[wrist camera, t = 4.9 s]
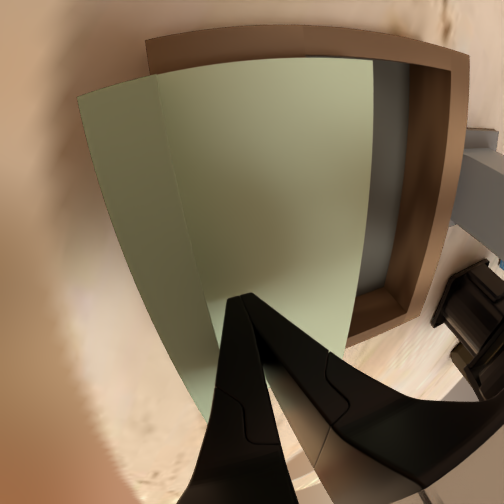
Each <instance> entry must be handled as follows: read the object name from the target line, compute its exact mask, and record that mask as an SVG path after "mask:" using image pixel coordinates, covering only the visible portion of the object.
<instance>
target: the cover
mask: <svg viewBox="0 0 504 504" xmlns="http://www.w3.org/2000/svg"><path fill="white" fill-rule="evenodd" d="M77 101H78V105H79V110H80V114H81V119H82V123H83V127H84V131H85V135H86V139H87V143H88V147H89V151H90V154H91V158H92V162H93V165H94V169H95V172H96V175H97V179H98V182H99V185H100V188H101V192H102V195H103V198H104V201H105V204H106V207H107V210H108V213H109V216H110V219H111V222H112V224H113V227H114V230H115V233H116V235H117V238H118V241H119V244H120V246H121V249H122V251H123V254H124V257H125V259H126V262H127V264H128V267H129V269H130V272H131V274H132V276H133V279H134V281H135V284H136V286H137V288H138V291H139V293H140V295H141V298H142V300H143V302H144V304H145V307H146V309H147V311H148V313H149V315H150V317H151V320H152V322H153V324H154V326H155V328H156V330H157V332H158V334H159V336H160V338H161V340H162V343H163V345H164V347H165V349H166V351H167V352H168V354H169V356H170V358H171V360H172V362H173V364H174V366H175V368H176V370H177V372H178V374H179V375H180V377H181V379H182V381H183V383H184V385H185V386H186V388H187V390H188V392H189V394H190V395H191V397H192V399H193V401H194V402H195V404H196V406H197V407H198V409H199V411H200V412H201V414H202V416H203V417H204V419H205V421H206V422H207V424H208V420H209V416H210V411H211V406H212V400H213V393H214V388H215V379H216V372H217V364H218V357H219V350H220V343H221V336H222V328H223V321H224V315H225V308H226V301H227V299H228V298H230V297H234V296H240V295H242V294H245V293H249V292H252V293H254V294H255V295H256V296H258V297H259V298H260V299H262V300H263V301H264V302H266V303H267V304H268V305H269V306H271V307H272V308H273V309H275V310H276V311H277V312H279V313H280V314H281V315H283V316H284V317H285V318H287V319H288V320H289V321H291V322H292V323H293V324H295V325H296V326H297V327H299V328H300V329H301V330H303V331H304V332H305V333H307V334H308V335H309V336H311V337H312V338H313V339H315V340H316V341H317V342H319V343H320V344H321V345H323V346H324V347H325V348H327V349H328V350H329V352H330V351H331V352H332V353H334V354H335V355H336V356H338V357H339V358H341V359H343V355H344V351H345V346H346V342H347V337H348V332H349V327H350V323H351V318H352V312H353V307H354V302H355V296H356V291H357V285H358V279H359V272H360V266H361V259H362V252H363V245H364V237H365V229H366V220H367V211H368V201H369V190H370V177H371V162H372V143H373V61H372V60H360V59H344V58H278V59H261V60H248V61H238V62H229V63H221V64H214V65H207V66H200V67H194V68H188V69H183V70H177V71H172V72H167V73H163V74H158V75H156V74H154V75H150V76H145V77H141V78H137V79H134V80H130V81H126V82H122V83H119V84H115V85H112V86H109V87H105V88H102V89H99V90H96V91H93V92H90V93H87V94H84V95H81V96H78V97H77ZM265 379H266V378H265ZM266 383H267V388H270V386H269V384H268V382H267V380H266Z"/></svg>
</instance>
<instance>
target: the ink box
mask: <svg viewBox="0 0 504 504" xmlns="http://www.w3.org/2000/svg"><path fill="white" fill-rule="evenodd" d="M499 267H500V268H502V269H503V270H504V262H503V261H502V260H501V261H500V265H499Z"/></svg>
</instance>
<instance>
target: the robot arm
mask: <svg viewBox="0 0 504 504" xmlns="http://www.w3.org/2000/svg"><path fill="white" fill-rule="evenodd" d="M488 265H489V261H488V260H487V259H485V260H483V261H481V262H479V263H477V264H475V265H473V266H471V267H469V268H467V269H465V270H463V271H461V272H459V273H457V274H455V275H453V276H452V277H451V278H450V280H449V282H448V284H447V287H446V290H445V292H444V295H443V297H442V300H441V302H440V304H439V307H438V309H437V312H436V314H435V316H434V318H433V321H432V323H431V326H432V327H433V328H435V327H437V326H439V325H441V324H443V323H445V324H446V325H447V327H448V328H449V329H450V330H451V331H452V332H453V333H454V335H455V336H456V337H457V338H458V339H459V340H460V342H461V343H462V344H463V345H464V346H465V348H466V349H467V350H468V351H469V352H470V354H471V355H472V356H473V357H474V358H473V359H472V360H471V361H470V362H469V364H467V365H466V366H465V367H464V368H463V370H464V372H465V373H466V377H467V379H468V380H469V382H470V384H471V386H472V388H473V390H474V392H475V394H476V395H477V397H478V399H479V402H455V401H432V400H420V399H415V398H412V397H409V396H406V395H404V394H402V393H400V392H398V391H396V390H394V389H392V388H390V387H388V386H386V385H384V384H383V383H381V382H379V381H377V380H375V379H373V378H371V377H370V376H368V375H366V374H364V373H363V372H361V371H359V370H357V369H356V368H354V367H352V366H351V365H349V364H348V363H346V362H345V361H343V360H342V359H341V358H339V357H338V356H336V355H335V354H334V353H332V352H331V351H330V352H329V350H328V349H327V348H325V347H324V346H323V345H321V344H320V343H319V342H317V341H316V340H315V339H313V338H312V337H311V336H309V335H308V334H307V333H305V332H304V331H303V330H301V329H300V328H299V327H297V326H296V325H295V324H293V323H292V322H291V321H289V320H288V319H287V318H285V317H284V316H283V315H281V314H280V313H279V312H277V311H276V310H275V309H273V308H272V307H271V306H269V305H268V304H267V303H266V302H264V301H263V300H262V299H260V298H259V297H258V296H256V295H255V294H254V293H252V292H249V293H245V294H242V295H240V296H234V297H230V298H228V299H227V301H226V308H225V315H224V321H223V328H222V336H221V343H220V350H219V357H218V364H217V372H216V379H215V388H214V393H213V400H212V406H211V411H210V416H209V420H208V424H207V429H206V432H205V436H204V439H203V442H202V446H201V449H200V453H199V456H198V460H197V463H196V466H195V469H194V472H193V475H192V478H191V480H190V482H189V484H188V486H187V488H186V490H185V491H184V493H183V494H182V496H181V497H180V499H179V500H178V502H177V503H176V504H299V503H298V500H297V496H296V494H295V490H294V487H293V484H292V481H291V478H290V475H289V472H288V469H287V465H286V462H285V458H284V454H283V450H282V447H281V442H280V438H279V434H278V430H277V426H276V421H275V417H274V413H273V409H272V405H271V400H270V396H269V392H268V388H267V383H266V380H267V382H268V384H269V386H270V388H271V389H272V391H273V393H274V395H275V397H276V399H277V401H278V403H279V405H280V407H281V409H282V411H283V413H284V415H285V417H286V418H287V420H288V422H289V424H290V426H291V428H292V430H293V432H294V433H295V435H296V437H297V439H298V441H299V443H300V445H301V446H302V448H303V450H304V452H305V454H306V456H307V457H308V459H309V461H310V463H311V465H312V466H313V468H314V470H315V472H316V474H317V475H318V477H319V479H320V481H321V483H322V484H323V486H324V488H325V489H326V491H327V493H328V495H329V496H330V498H331V500H332V502H333V503H334V504H504V344H503V345H502V346H501V347H500V349H499V350H498V351H497V352H496V353H495V351H496V350H497V349H498V348H499V346H500V345H501V344H502V343H503V342H504V281H503V280H502V279H501V278H500V277H499V276H497V275H496V274H495V273H494V272H493V271H492V270H491V269H490V268H489V267H488ZM494 353H495V355H494V356H493V357H492V358H491V359H490V360H489V361H488V359H489V358H490V357H491V356H492V355H493V354H494ZM487 361H488V363H487V364H486V365H485V363H486V362H487ZM265 378H266V379H265Z"/></svg>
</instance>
